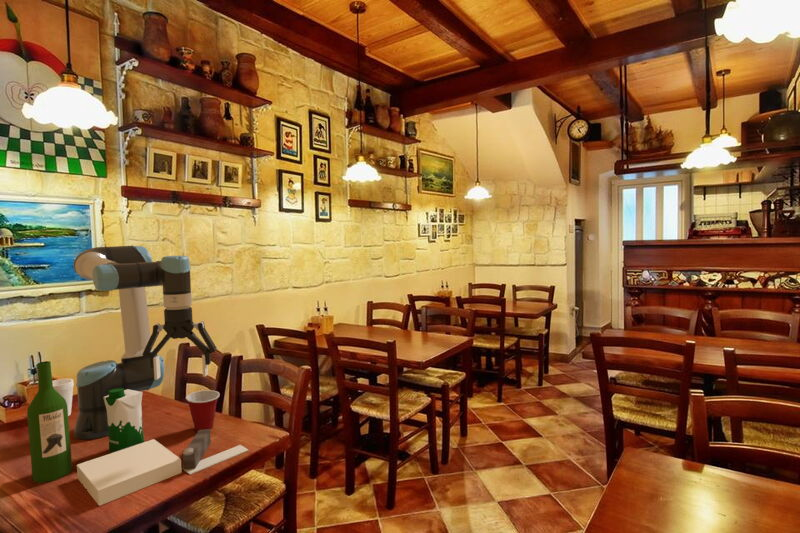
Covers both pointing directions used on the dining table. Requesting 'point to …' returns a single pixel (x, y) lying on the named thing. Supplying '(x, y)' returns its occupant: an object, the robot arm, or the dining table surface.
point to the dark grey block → (196, 449)
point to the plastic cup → (203, 408)
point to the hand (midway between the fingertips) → (181, 376)
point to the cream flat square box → (127, 471)
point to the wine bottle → (48, 430)
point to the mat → (217, 459)
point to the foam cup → (65, 390)
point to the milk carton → (124, 418)
